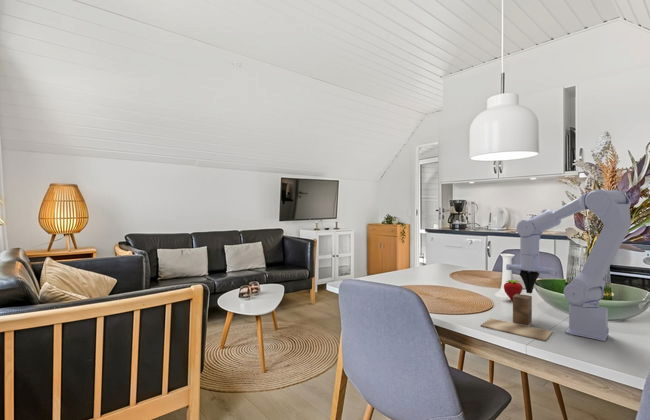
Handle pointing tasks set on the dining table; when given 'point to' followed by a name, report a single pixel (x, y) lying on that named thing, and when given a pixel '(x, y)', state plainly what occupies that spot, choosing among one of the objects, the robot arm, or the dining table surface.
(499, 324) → the light wood flat board
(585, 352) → the dining table surface
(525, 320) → the walnut block
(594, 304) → the robot arm
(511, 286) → the strawberry
